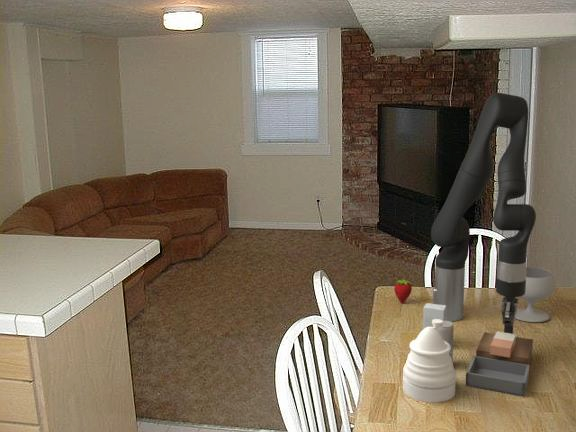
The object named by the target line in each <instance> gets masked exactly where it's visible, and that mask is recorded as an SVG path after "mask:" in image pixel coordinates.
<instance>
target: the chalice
mask: <svg viewBox="0 0 576 432" xmlns="http://www.w3.org/2000/svg"><path fill="white" fill-rule="evenodd" d="M555 290H556V279H555V277H554V275H553V273H552V271H550V270H548V269H545V268H542V267H536V266H535V267H534V266H526V289H525V294H524V295H523V296H521V297H520V298H521V299H522V300H524V301H525V302H526V307H519V308H518V307H517V313H516V317H515V320H516V319H517V320H518V321H521V322H528V323H543V322H548V321H550V319H551V316H550V314H549V313H547V312H545V311H543V310H540V309H536V308H534V306H535V304H536V303H537V302H538V301H540V300H545V299H547V298H549V297H551V296H552V295H553V294H554V293H555Z"/></svg>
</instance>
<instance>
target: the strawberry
mask: <svg viewBox="0 0 576 432" xmlns="http://www.w3.org/2000/svg"><path fill="white" fill-rule="evenodd" d="M405 278H406V276H404V277H403V278H402V279H401V280H399V279H398V280H395V282H396V284H395V285H394V288H393V289H394V294H395V296H396V298H397V299H398V300H399V302H400V304H405V302H406V301H407V300H408V299H409V297H410V295H411V294H412V290H413V288H412V284H411V282H410V281H409V280H405Z"/></svg>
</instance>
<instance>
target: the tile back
mask: <svg viewBox="0 0 576 432" xmlns="http://www.w3.org/2000/svg"><path fill="white" fill-rule="evenodd" d="M494 334H495V336H494V338H496V339H502V340H508V341H514V342H513V348H514V345H515V342H516V337H517V334H515V333H513V334H510V333H504V331H496V332H495V333H494ZM494 338H493V339H494Z"/></svg>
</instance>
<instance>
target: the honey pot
mask: <svg viewBox="0 0 576 432" xmlns="http://www.w3.org/2000/svg"><path fill="white" fill-rule="evenodd" d="M442 323H443V321H442V320H440V319H433V320H432V324H433V326H434V327H426V328H425V329H423V328H422V330H421V331H420V332H419V334H417V337H416V338H415V339H413V340H411V341H410V343H409V349H410V351H409V353H408V355H407V359H406V362H405V364H404V365H403V369H402V372H403V373H402V390H403V392H404V393H405V395H406V396H408V397H409V398H411V399H414V400H416V401H419V402H423V403H442V402H443V403H444V402H446V401H449V400H450V399H453V397H454V396H455V395H456V384H457V383H456V380H457V378H456V369H455V367H454V364H453V362H452V359H451V357H450V355H449V352H450V350H451V346H450V344H449V343H447V342H446V341H444V340H443V338H442V336H441V335H440V333H439V332H438V331H437V330H436V329H439V328H440V327H441V326H442Z"/></svg>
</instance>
